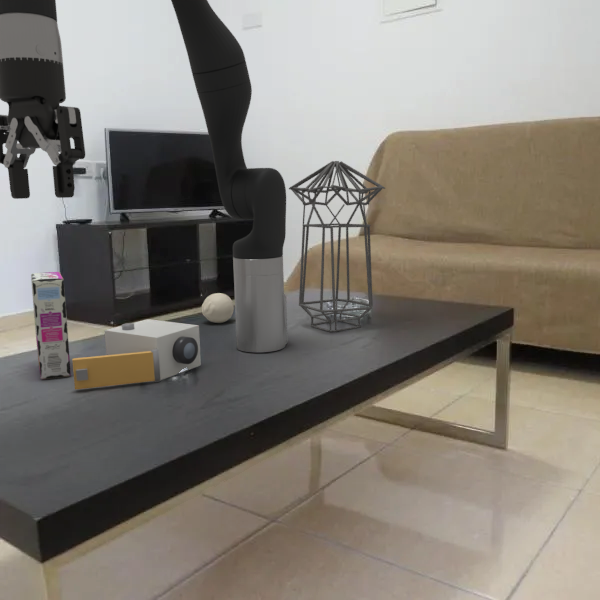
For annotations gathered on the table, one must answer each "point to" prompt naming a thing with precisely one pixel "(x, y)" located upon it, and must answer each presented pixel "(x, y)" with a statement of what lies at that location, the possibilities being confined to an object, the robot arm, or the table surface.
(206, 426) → the table surface
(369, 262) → the geometric lantern
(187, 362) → the block
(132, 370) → the side door
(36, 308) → the candy bar box
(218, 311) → the cream round ball
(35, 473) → the table surface
